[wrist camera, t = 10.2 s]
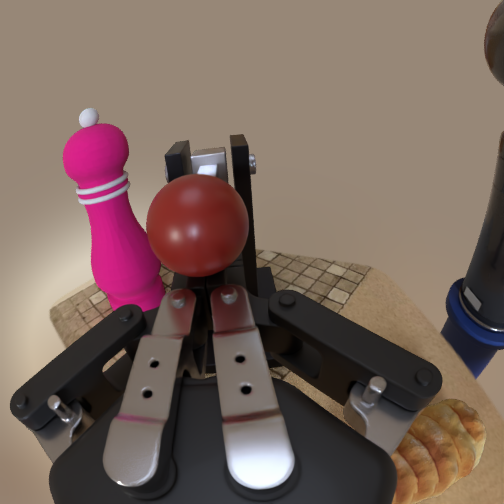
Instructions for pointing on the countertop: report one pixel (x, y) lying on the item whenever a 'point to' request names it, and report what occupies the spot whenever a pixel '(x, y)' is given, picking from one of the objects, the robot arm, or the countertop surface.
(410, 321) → the countertop surface
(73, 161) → the pepper mill
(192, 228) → the lever
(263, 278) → the bracket
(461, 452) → the pastry
